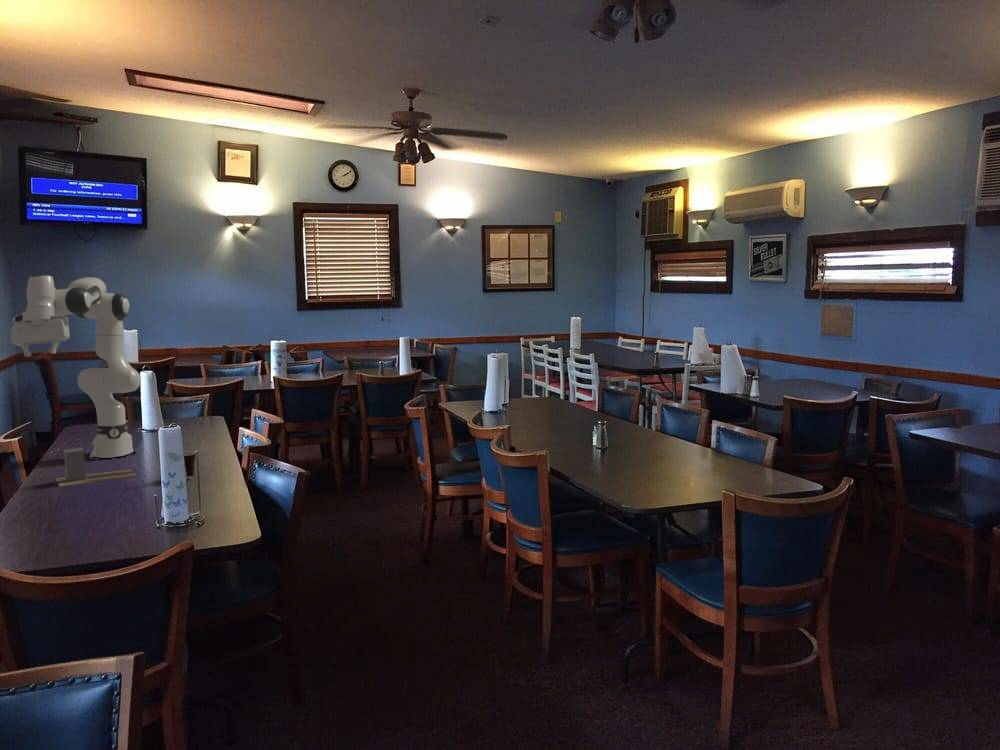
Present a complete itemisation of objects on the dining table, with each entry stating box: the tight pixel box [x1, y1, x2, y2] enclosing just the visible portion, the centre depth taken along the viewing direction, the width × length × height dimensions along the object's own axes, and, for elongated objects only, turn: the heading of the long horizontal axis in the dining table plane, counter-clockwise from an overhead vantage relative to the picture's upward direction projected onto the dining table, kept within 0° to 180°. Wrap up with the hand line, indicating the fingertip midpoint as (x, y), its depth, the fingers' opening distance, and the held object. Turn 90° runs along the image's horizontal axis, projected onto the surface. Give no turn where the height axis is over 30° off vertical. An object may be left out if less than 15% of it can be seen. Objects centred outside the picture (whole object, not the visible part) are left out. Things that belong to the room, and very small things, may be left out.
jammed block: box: [63, 447, 87, 482], centre depth 288 cm, size 6×6×12 cm
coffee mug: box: [183, 450, 197, 477], centre depth 299 cm, size 12×9×10 cm
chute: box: [55, 469, 137, 487], centre depth 292 cm, size 10×26×2 cm, turn 124°
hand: (40, 354), depth 274 cm, fingers open, 8 cm apart
